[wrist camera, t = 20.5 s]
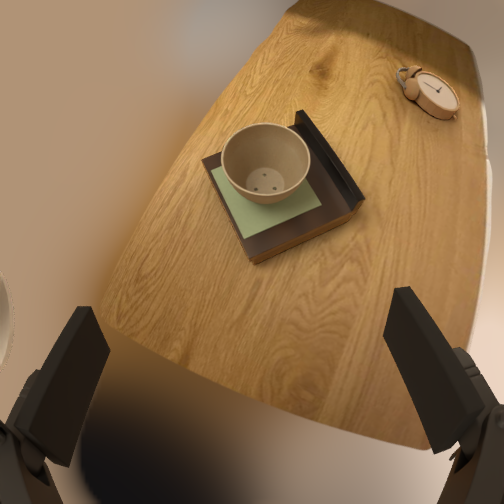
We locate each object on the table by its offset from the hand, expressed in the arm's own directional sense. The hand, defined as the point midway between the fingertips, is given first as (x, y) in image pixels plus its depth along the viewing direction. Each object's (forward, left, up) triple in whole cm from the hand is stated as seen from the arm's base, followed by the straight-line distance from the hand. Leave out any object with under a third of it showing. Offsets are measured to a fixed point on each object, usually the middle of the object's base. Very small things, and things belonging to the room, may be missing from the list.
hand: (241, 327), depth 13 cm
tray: (+12, +17, -27) cm, 34 cm away
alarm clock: (+52, +26, -27) cm, 64 cm away
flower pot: (+10, +17, -23) cm, 30 cm away
